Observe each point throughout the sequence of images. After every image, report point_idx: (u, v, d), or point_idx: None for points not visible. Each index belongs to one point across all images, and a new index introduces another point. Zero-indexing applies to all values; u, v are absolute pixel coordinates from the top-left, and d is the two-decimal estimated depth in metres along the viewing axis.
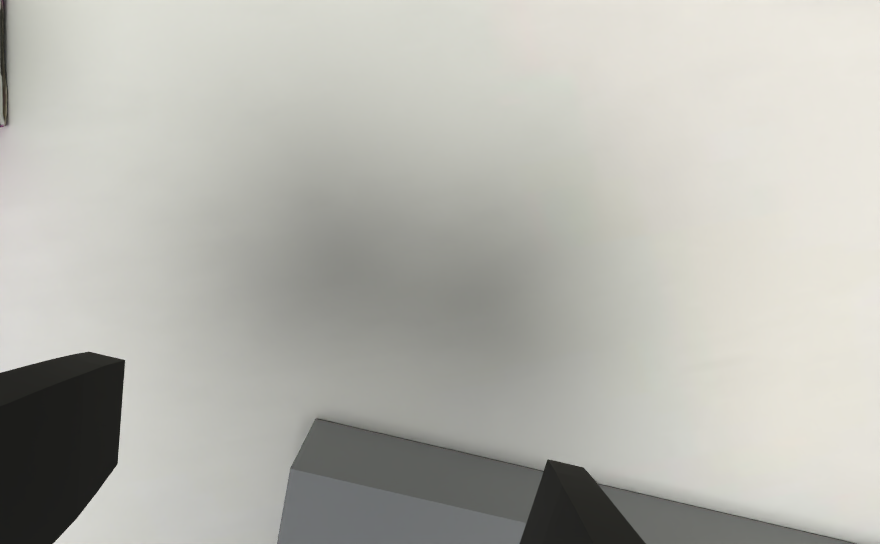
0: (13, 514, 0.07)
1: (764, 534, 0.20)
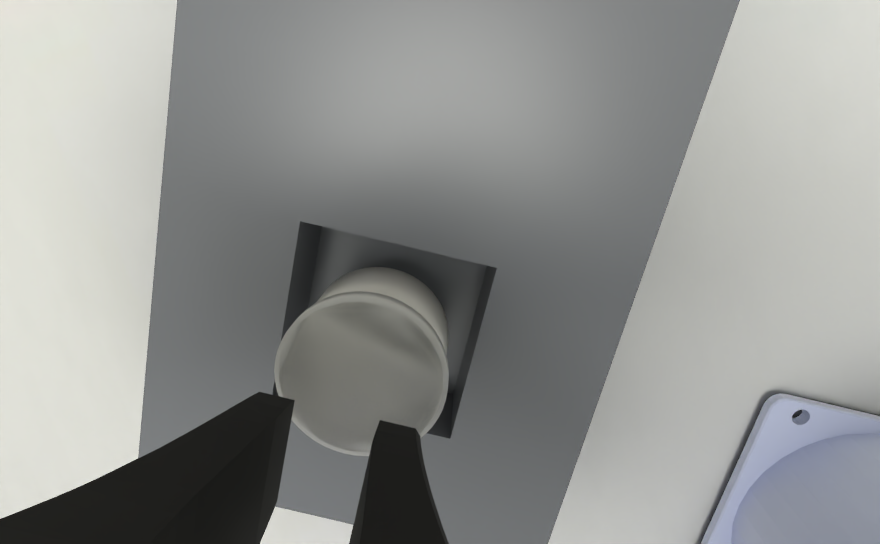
0: None
1: None
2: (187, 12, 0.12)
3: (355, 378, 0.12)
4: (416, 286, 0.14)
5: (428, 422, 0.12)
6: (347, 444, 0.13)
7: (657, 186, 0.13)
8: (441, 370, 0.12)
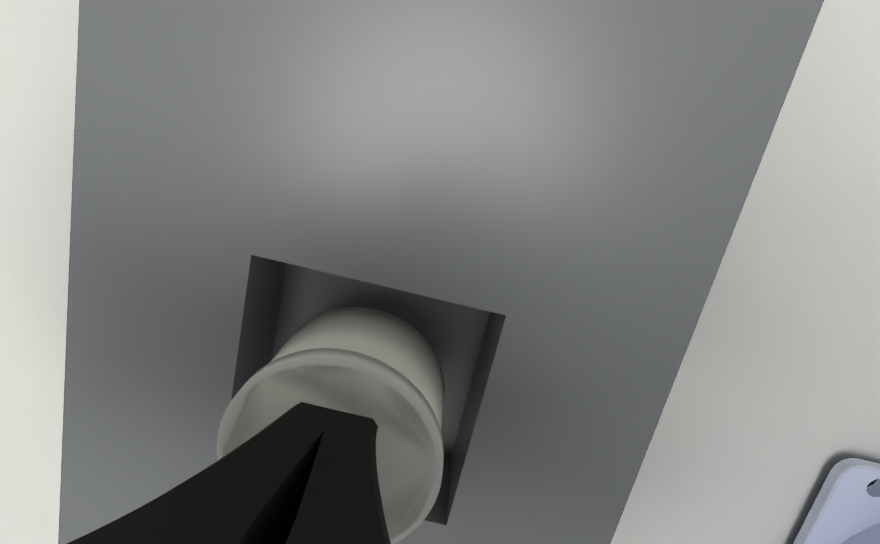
0: None
1: None
2: None
3: None
4: (403, 333, 0.11)
5: (417, 516, 0.09)
6: None
7: (718, 211, 0.10)
8: (434, 452, 0.09)
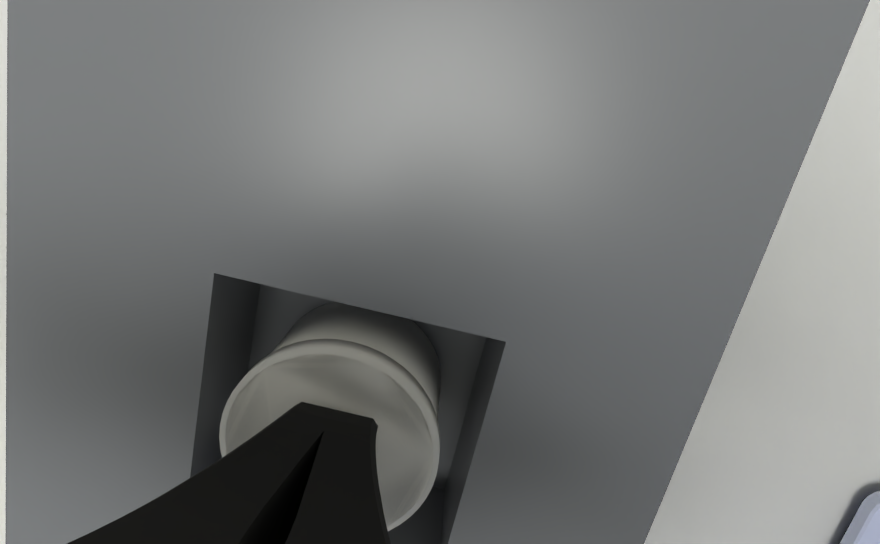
0: None
1: None
2: None
3: None
4: (401, 325, 0.11)
5: (414, 502, 0.10)
6: None
7: (751, 224, 0.09)
8: (431, 438, 0.09)
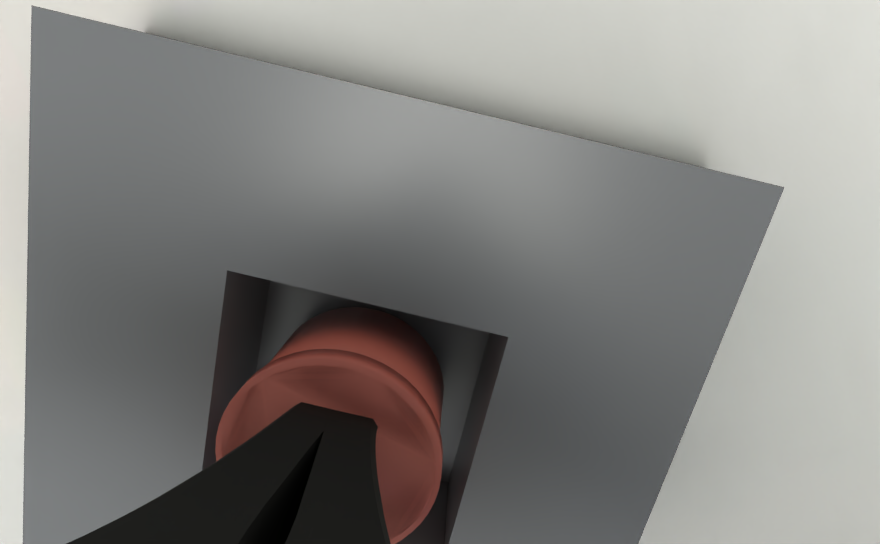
0: None
1: None
2: None
3: None
4: None
5: None
6: None
7: None
8: None
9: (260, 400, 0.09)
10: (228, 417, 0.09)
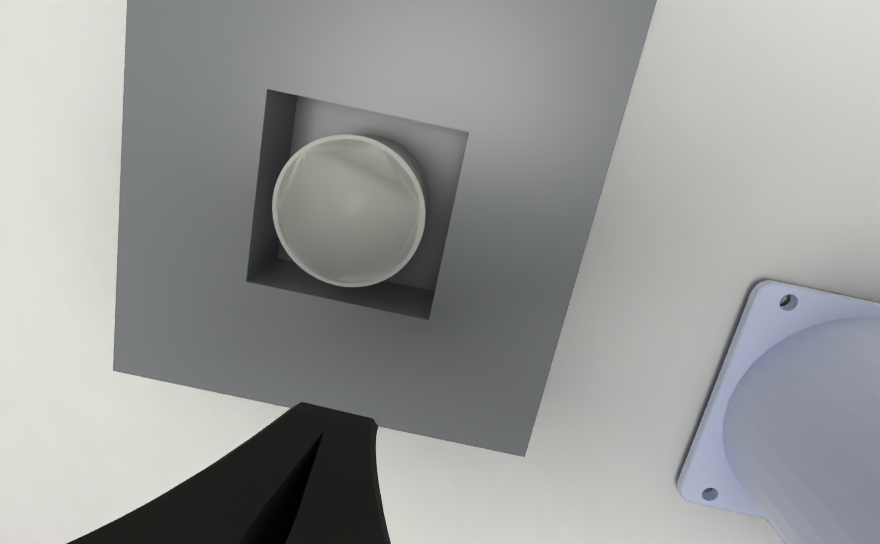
0: None
1: None
2: None
3: (343, 212, 0.14)
4: (397, 146, 0.15)
5: (408, 251, 0.14)
6: (338, 276, 0.14)
7: (629, 36, 0.13)
8: (418, 201, 0.14)
9: None
10: None
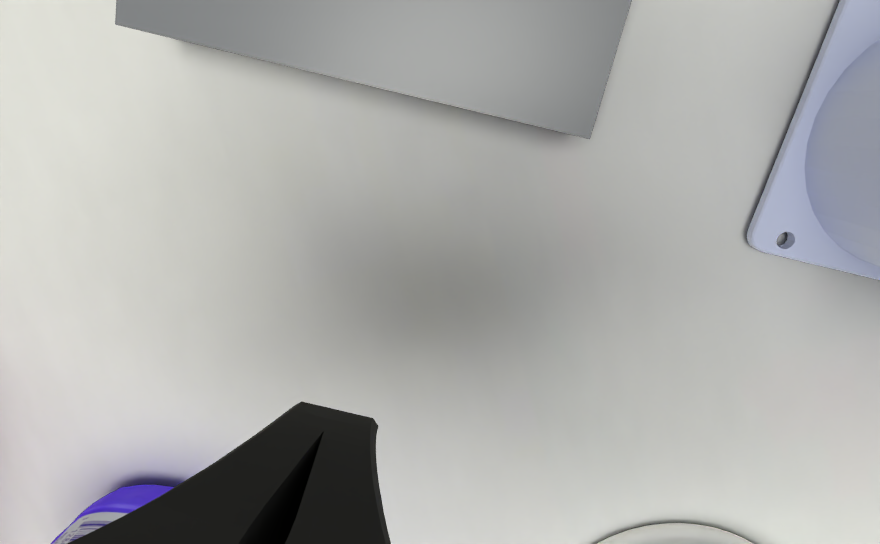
0: None
1: None
2: None
3: None
4: None
5: None
6: None
7: None
8: None
9: None
10: None
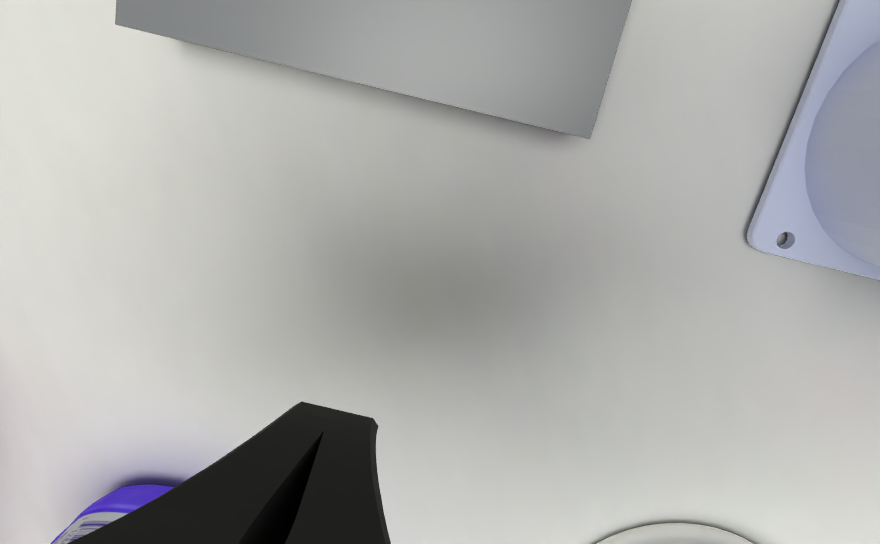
0: None
1: None
2: None
3: None
4: None
5: None
6: None
7: None
8: None
9: None
10: None
